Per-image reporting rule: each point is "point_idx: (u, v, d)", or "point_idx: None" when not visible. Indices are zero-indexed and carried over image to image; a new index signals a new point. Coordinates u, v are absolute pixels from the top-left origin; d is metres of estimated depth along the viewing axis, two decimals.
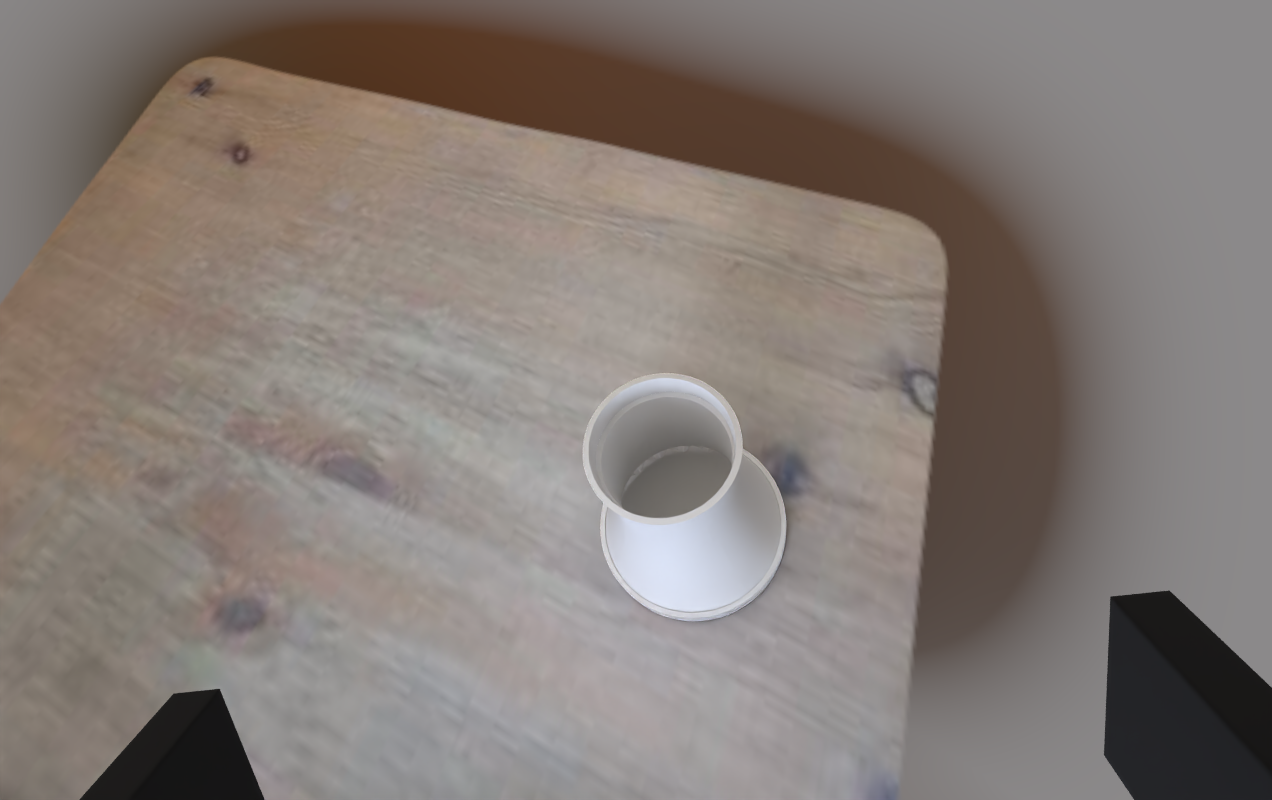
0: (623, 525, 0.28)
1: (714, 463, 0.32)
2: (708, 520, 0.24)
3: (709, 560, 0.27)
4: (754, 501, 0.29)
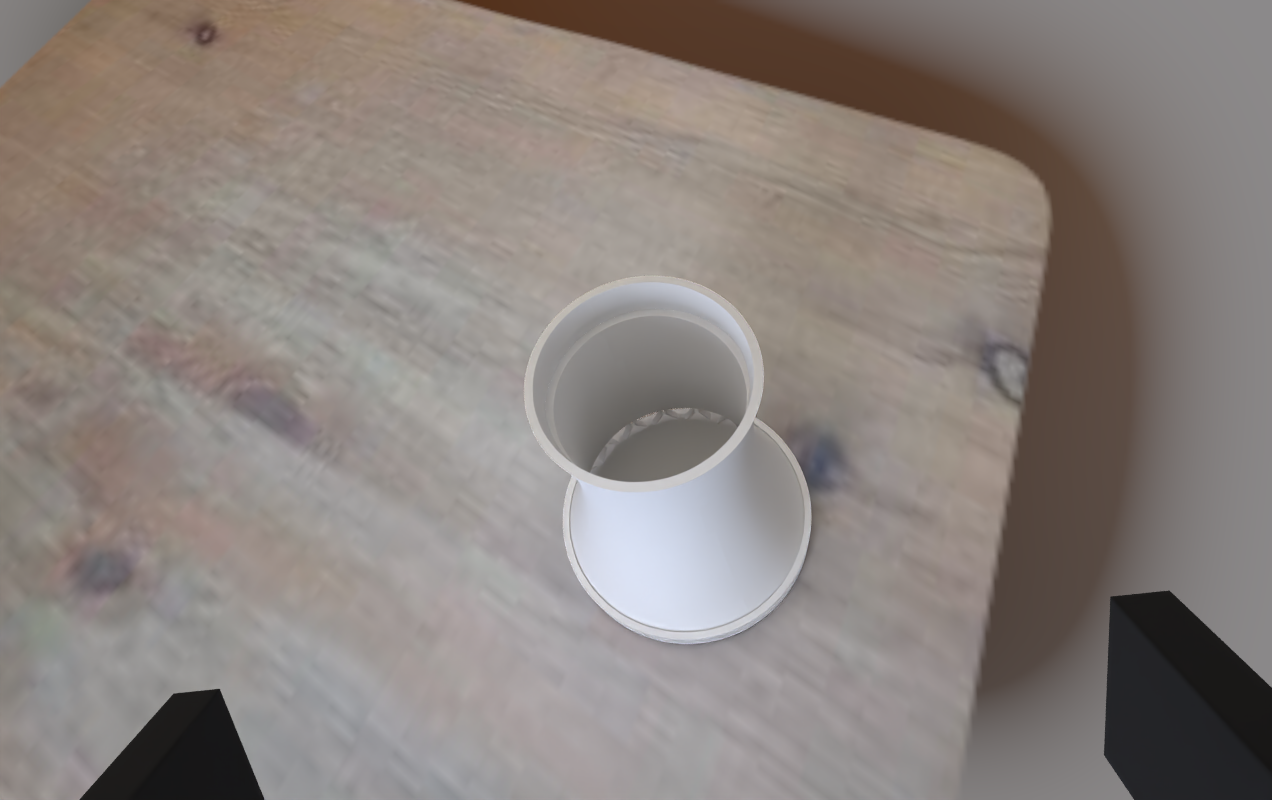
0: (585, 499, 0.20)
1: (723, 437, 0.25)
2: (701, 497, 0.16)
3: (700, 561, 0.20)
4: (771, 487, 0.21)
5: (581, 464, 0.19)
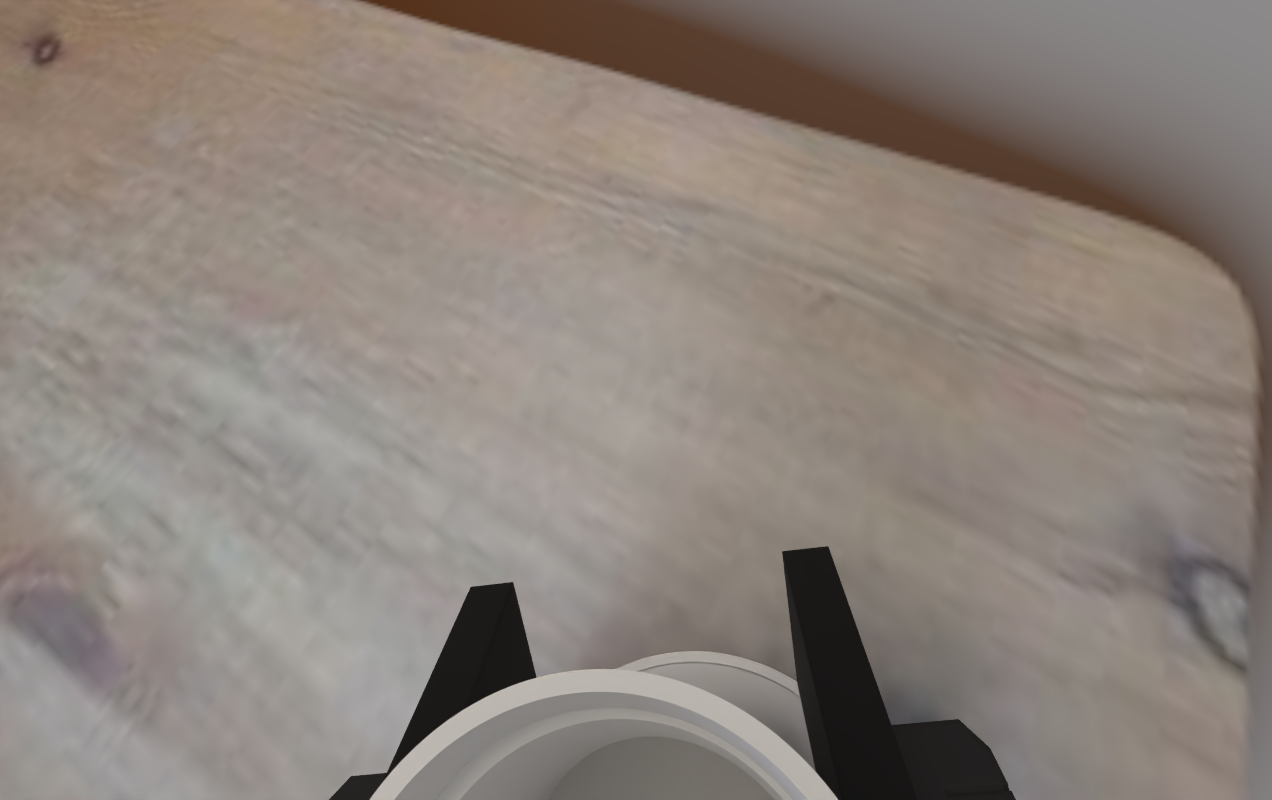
0: None
1: None
2: None
3: None
4: None
5: None
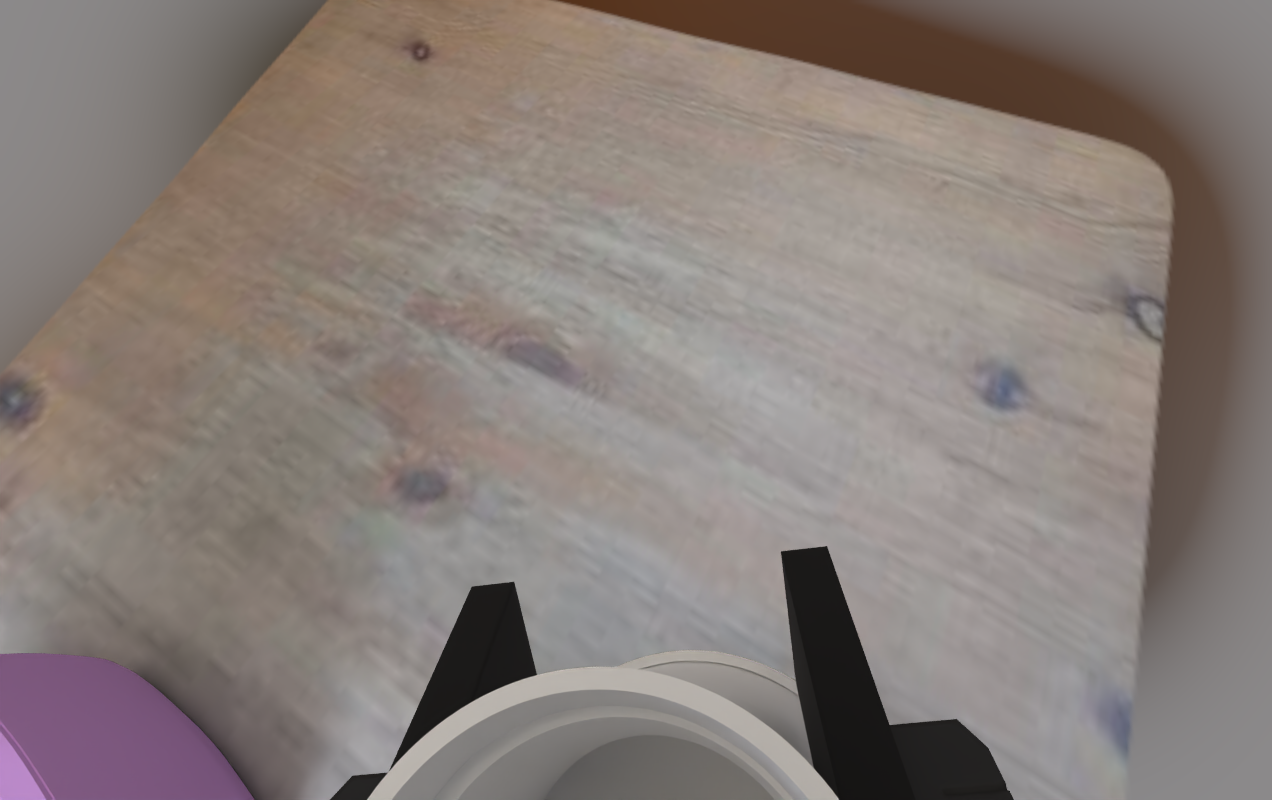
0: None
1: None
2: None
3: None
4: None
5: None
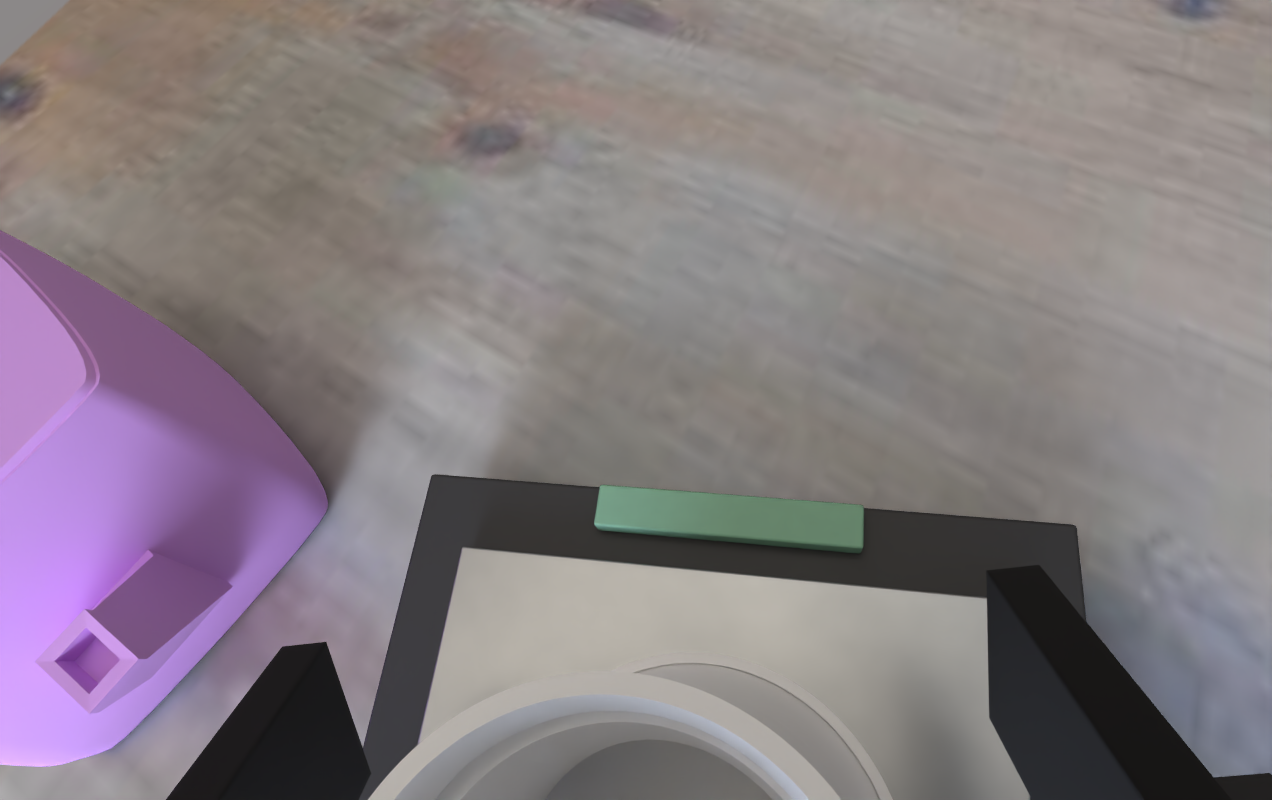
0: None
1: None
2: None
3: None
4: None
5: None
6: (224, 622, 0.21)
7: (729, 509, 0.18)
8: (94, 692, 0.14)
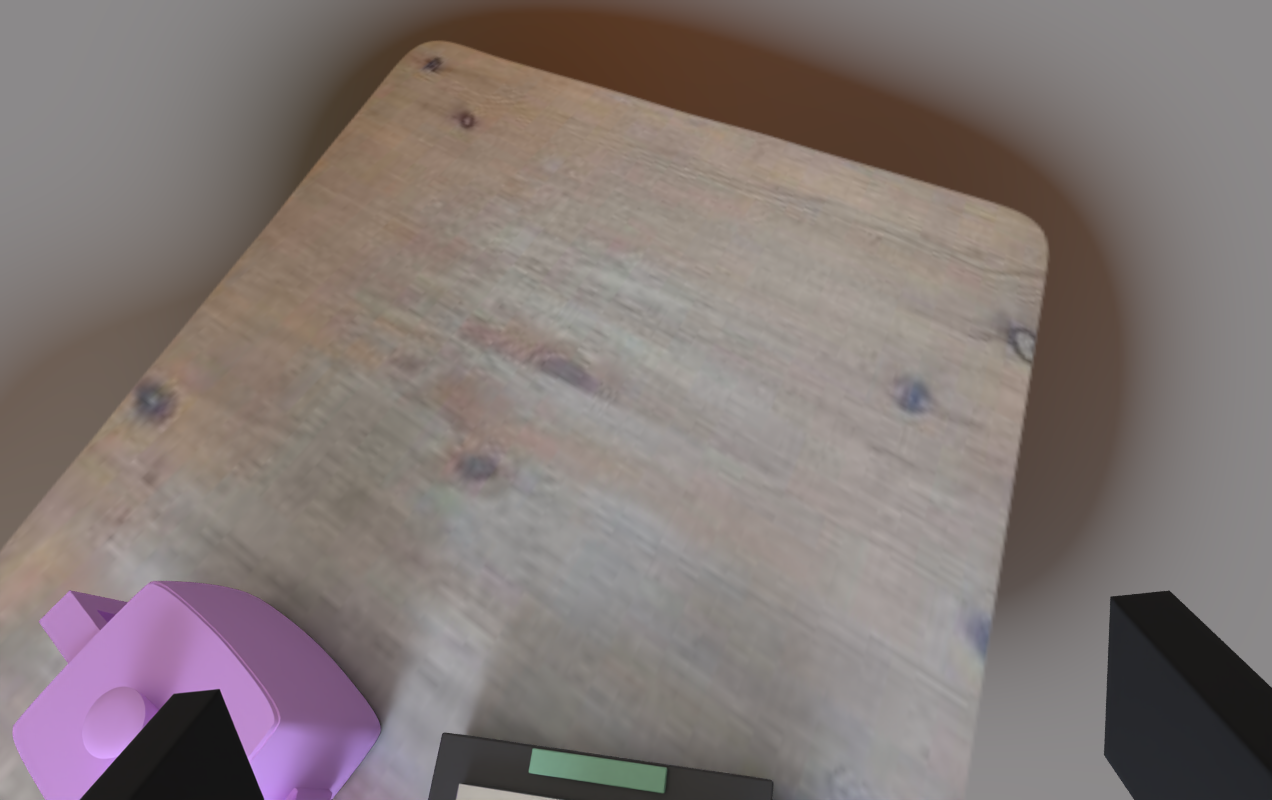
0: None
1: None
2: None
3: None
4: None
5: None
6: None
7: (598, 767, 0.34)
8: None
